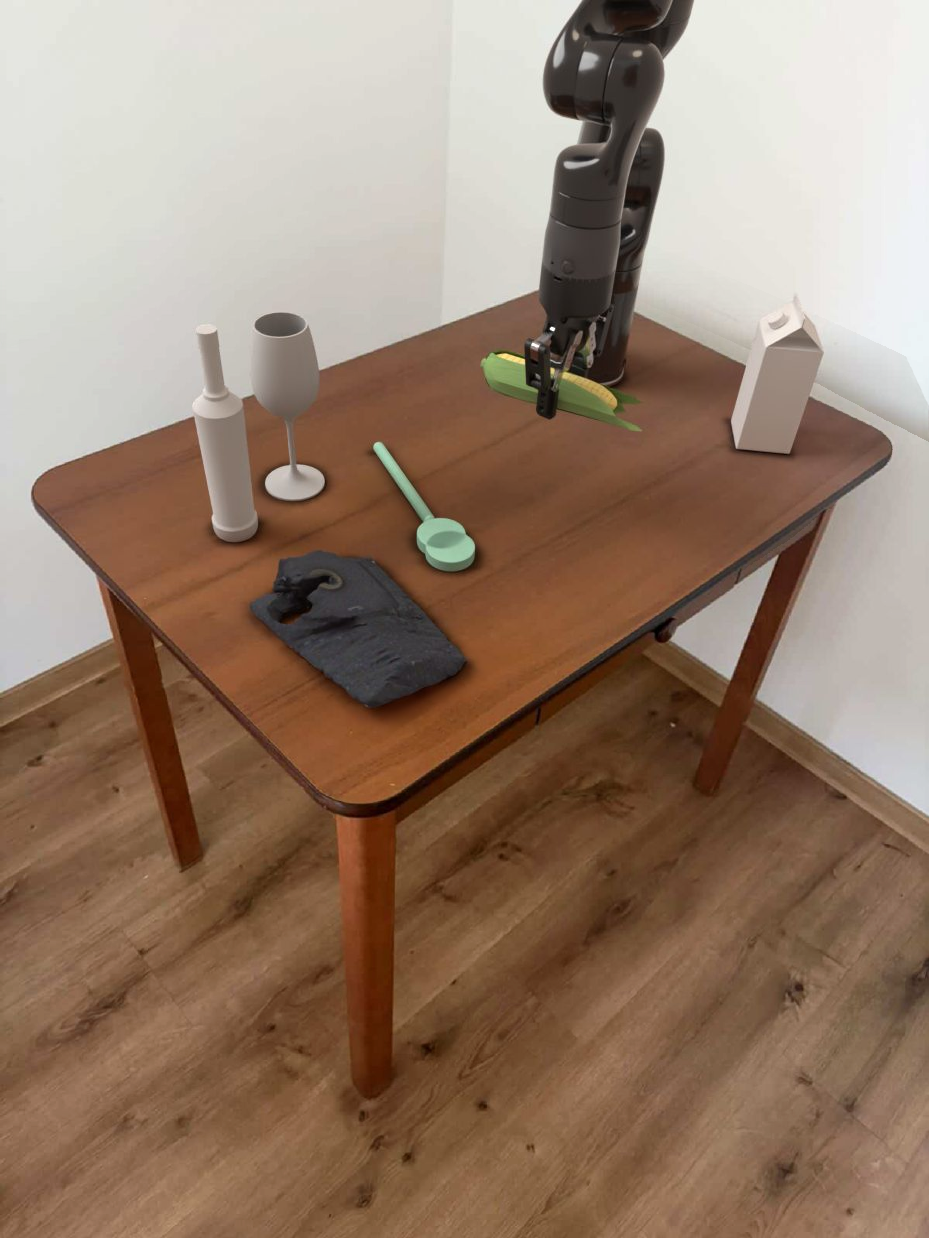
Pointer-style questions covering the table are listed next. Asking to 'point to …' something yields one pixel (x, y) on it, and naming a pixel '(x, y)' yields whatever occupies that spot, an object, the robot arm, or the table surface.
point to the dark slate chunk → (357, 627)
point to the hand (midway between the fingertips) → (560, 404)
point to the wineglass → (286, 391)
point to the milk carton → (777, 380)
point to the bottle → (223, 446)
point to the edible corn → (574, 390)
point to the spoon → (432, 525)
